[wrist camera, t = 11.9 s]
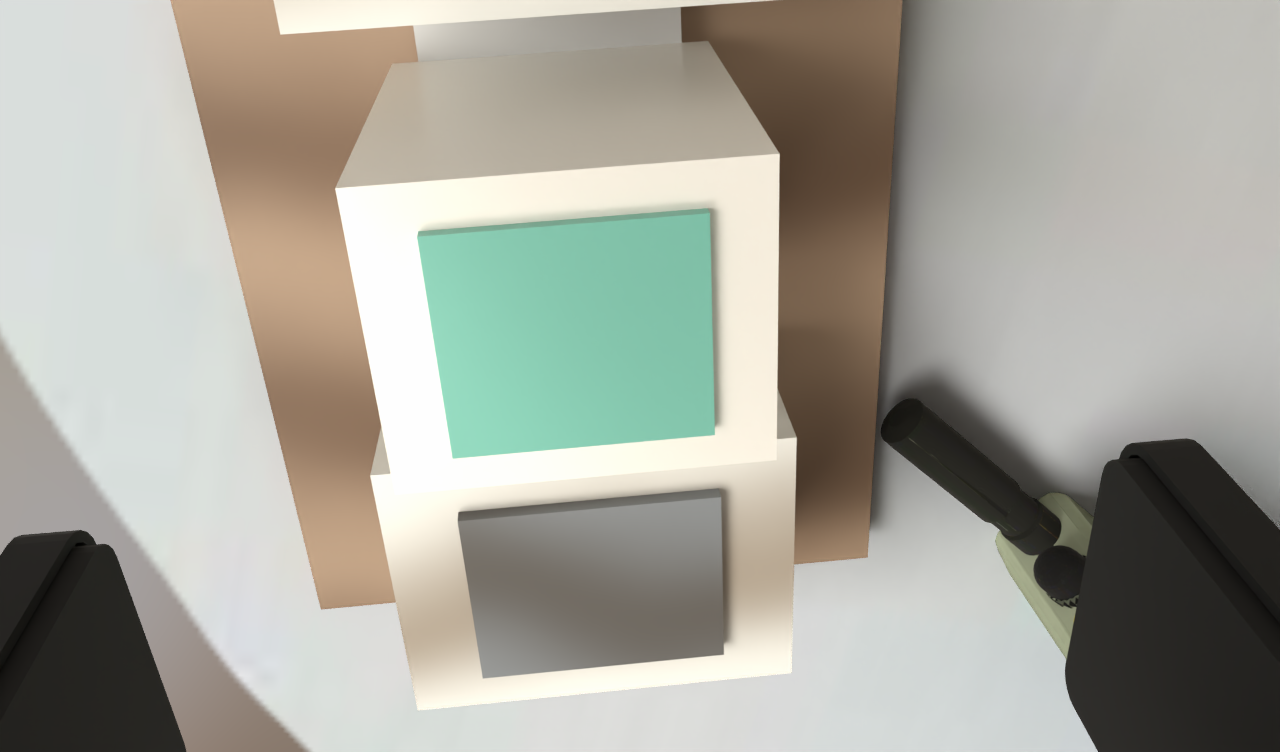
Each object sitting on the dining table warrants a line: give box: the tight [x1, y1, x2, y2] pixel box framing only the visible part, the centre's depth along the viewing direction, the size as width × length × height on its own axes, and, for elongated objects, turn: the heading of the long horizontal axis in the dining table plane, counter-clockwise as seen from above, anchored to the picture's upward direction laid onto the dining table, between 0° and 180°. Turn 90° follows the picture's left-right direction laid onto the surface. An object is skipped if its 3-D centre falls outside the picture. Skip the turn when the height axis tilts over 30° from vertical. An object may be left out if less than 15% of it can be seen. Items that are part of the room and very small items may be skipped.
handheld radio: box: [881, 398, 1094, 659], centre depth 30 cm, size 7×3×25 cm
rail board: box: [171, 0, 902, 710], centre depth 21 cm, size 22×14×6 cm, turn 3°
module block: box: [335, 41, 780, 495], centre depth 19 cm, size 5×6×7 cm
